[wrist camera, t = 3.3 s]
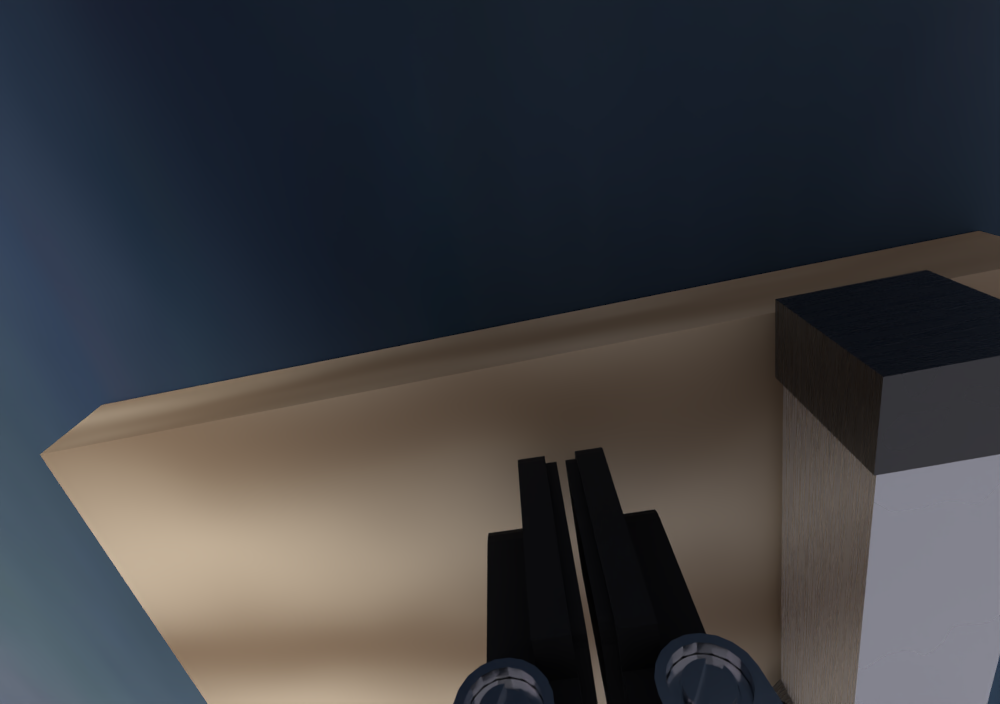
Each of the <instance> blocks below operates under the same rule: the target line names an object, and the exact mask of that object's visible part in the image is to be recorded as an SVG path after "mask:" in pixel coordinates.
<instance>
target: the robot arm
mask: <svg viewBox="0 0 1000 704" xmlns="http://www.w3.org/2000/svg"><path fill="white" fill-rule="evenodd" d="M565 463H566V470H567V477H568V484H569V491H570V497H571V504H572V511H573V517H574V524H575V531H576V538H577V544H578V551H579V558H580V564H581V570H582V576H583V581H584V587H585V592H586V597H587V602H588V608H589V613H590V618H591V624H592V629H593V634H594V639H595V645H596V650H597V655H598V660H599V666H600V671H601V676H602V681H603V687H604V692H605V697H606V702H607V704H787V703H785V702H783V701H781V700H780V698H779V697H778V695H777V693H776V692H775V690H774V689H773V687H772V686H771V684H770V683H769V681H768V680H767V678H766V676H765V675H764V673H763V672H762V670H761V669H760V667H759V666H758V665H757V663H756V662H755V661H754V660H753V659H752V657H751V656H750V655H749V654H748V653H747V652H746V651H745V650H743V649H742V648H740V647H739V646H738V645H736V644H735V643H733V642H732V641H729V640H727V639H724V638H722V637H719V636H717V635H711V634H706V632H705V630H704V627H703V625H702V622H701V620H700V617H699V615H698V612H697V610H696V607H695V605H694V602H693V600H692V597H691V595H690V592H689V589H688V587H687V584H686V582H685V579H684V577H683V574H682V572H681V569H680V567H679V564H678V562H677V559H676V557H675V554H674V552H673V549H672V547H671V544H670V542H669V539H668V537H667V534H666V532H665V529H664V527H663V524H662V522H661V519H660V517H659V515H658V513H657V511H656V510H655V509H654V510H647V511H640V512H633V513H626V514H623V511H622V508H621V505H620V502H619V498H618V495H617V492H616V489H615V486H614V483H613V479H612V476H611V473H610V470H609V467H608V464H607V460H606V457H605V454H604V451H603V448H602V447H599V448H593V449H586V450H579V451H575V459H570V460H565ZM518 473H519V487H520V501H521V515H522V528H521V529H514V530H507V531H500V532H493V533H489V534H488V542H487V663H485V664H483V665H481V666H479V667H478V668H477V669H476V670H474V671H473V672H472V673H471V674H470V675H468V676H467V678H466V679H465V681H464V682H463V683H462V685H461V686H460V688H459V689H458V692H457V695H456V697H455V700H454V703H453V704H598V702H597V695H596V689H595V682H594V676H593V669H592V662H591V656H590V649H589V643H588V637H587V631H586V625H585V619H584V613H583V607H582V602H581V596H580V591H579V585H578V579H577V574H576V568H575V563H574V557H573V551H572V546H571V540H570V535H569V529H568V523H567V518H566V512H565V507H564V501H563V495H562V490H561V484H560V479H559V473H558V467H557V462H550V463H546V461H545V456H540V457H533V458H526V459H520V460H518Z"/></svg>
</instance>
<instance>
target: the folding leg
mask: <svg viewBox="0 0 1000 704" xmlns="http://www.w3.org/2000/svg"><path fill="white" fill-rule="evenodd" d="M775 378H776V379H777V380H778V381H779V382H780V383H781V384H782V385H783V453H782V579H781V679H780V680H779V681H777V683H776V684H775V685H774V686H773V689H774V690H775V692H776V693H777V695H778V697H779V698H780V700H781V701H783V702H785V703H787V704H987V703H988V699H989V695H990V691H991V687H992V683H993V679H994V675H995V671H996V667H997V663H998V659H999V655H1000V299H998V298H996V297H993V296H991V295H988V294H986V293H983V292H981V291H978V290H976V289H973V288H971V287H968V286H966V285H963V284H961V283H958V282H956V281H953V280H951V279H949V278H946V277H944V276H941V275H939V274H936V273H934V272H931V271H929V270H922V271H917V272H912V273H907V274H902V275H897V276H892V277H887V278H881V279H876V280H871V281H866V282H861V283H856V284H851V285H846V286H840V287H835V288H830V289H825V290H820V291H815V292H810V293H805V294H799V295H794V296H789V297H784V298H779V299H775Z"/></svg>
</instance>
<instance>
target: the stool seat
mask: <svg viewBox="0 0 1000 704" xmlns="http://www.w3.org/2000/svg"><path fill="white" fill-rule="evenodd" d="M922 270H929V271H931V272H934V273H936V274H939V275H941V276H944V277H946V278H949V279H951V280H953V281H956V282H958V283H961V284H963V285H966V286H968V287H971V288H973V289H976V290H978V291H981V292H983V293H986V294H988V295H991V296H993V297H996V298H998V299H1000V236H996V235H993V234H989V233H986V232H982V231H975V232H970V233H965V234H960V235H955V236H950V237H945V238H940V239H935V240H930V241H925V242H920V243H915V244H910V245H905V246H900V247H895V248H890V249H885V250H880V251H875V252H870V253H865V254H860V255H855V256H850V257H845V258H840V259H834V260H829V261H824V262H819V263H814V264H809V265H804V266H799V267H794V268H789V269H784V270H779V271H774V272H769V273H764V274H759V275H754V276H749V277H744V278H739V279H734V280H729V281H724V282H719V283H714V284H709V285H704V286H699V287H694V288H689V289H684V290H678V291H673V292H668V293H663V294H658V295H653V296H648V297H643V298H638V299H633V300H628V301H623V302H618V303H613V304H608V305H603V306H598V307H593V308H588V309H583V310H578V311H573V312H568V313H563V314H558V315H553V316H548V317H543V318H538V319H533V320H528V321H522V322H517V323H512V324H507V325H502V326H497V327H492V328H487V329H482V330H477V331H472V332H467V333H462V334H457V335H452V336H447V337H442V338H437V339H432V340H427V341H422V342H417V343H412V344H407V345H402V346H397V347H392V348H387V349H382V350H377V351H372V352H366V353H361V354H356V355H351V356H346V357H341V358H336V359H331V360H326V361H321V362H316V363H311V364H306V365H301V366H296V367H291V368H286V369H281V370H276V371H271V372H266V373H261V374H256V375H251V376H246V377H241V378H236V379H231V380H226V381H221V382H216V383H210V384H205V385H200V386H195V387H190V388H185V389H180V390H175V391H170V392H165V393H160V394H155V395H150V396H145V397H140V398H135V399H130V400H125V401H120V402H115V403H110V404H105V405H101V406H100V407H99V408H98V409H96V410H95V411H94V412H93V413H91V414H90V415H89V416H88V417H86V418H85V419H84V420H83V421H81V422H80V423H79V424H78V425H76V426H75V427H74V428H73V429H71V430H70V431H69V432H68V433H66V434H65V435H64V436H63V437H61V438H60V439H59V440H58V441H56V442H55V443H54V444H53V445H51V446H50V447H49V448H48V449H46V450H45V451H44V452H43V453H41V454H40V455H41V457H42V458H43V460H44V461H45V463H46V464H47V466H48V467H49V469H50V470H51V472H52V473H53V475H54V476H55V478H56V479H57V481H58V482H59V484H60V485H61V487H62V488H63V490H64V491H65V492H66V494H67V495H68V497H69V498H70V500H71V501H72V503H73V504H74V506H75V507H76V509H77V510H78V512H79V513H80V515H81V516H82V518H83V519H84V521H85V522H86V524H87V525H88V527H89V528H90V530H91V531H92V533H93V534H94V536H95V537H96V538H97V540H98V541H99V543H100V544H101V546H102V547H103V549H104V550H105V552H106V553H107V555H108V556H109V558H110V559H111V561H112V562H113V564H114V565H115V567H116V568H117V570H118V571H119V573H120V574H121V576H122V577H123V579H124V580H125V582H126V583H127V585H128V586H129V587H130V589H131V590H132V592H133V593H134V595H135V596H136V598H137V599H138V601H139V602H140V604H141V605H142V607H143V608H144V610H145V611H146V613H147V614H148V616H149V617H150V619H151V620H152V622H153V623H154V625H155V626H156V628H157V629H158V631H159V632H160V633H161V635H162V636H163V638H164V639H165V641H166V642H167V644H168V645H169V647H170V648H171V650H172V651H173V653H174V654H175V656H176V657H177V659H178V660H179V662H180V663H181V665H182V666H183V668H184V669H185V671H186V672H187V674H188V675H189V677H190V678H191V679H192V681H193V682H194V684H195V685H196V687H197V688H198V690H199V691H200V693H201V694H202V696H203V697H204V699H205V700H206V702H207V703H208V704H453V703H454V700H455V697H456V695H457V692H458V689H459V688H460V686H461V685H462V683H463V682H464V681H465V679H466V678H467V676H468V675H470V674H471V673H472V672H473V671H474V670H476V669H477V668H478V667H479V666H481V665H483V664H485V663H487V542H488V534H489V533H493V532H500V531H507V530H514V529H521V528H522V515H521V501H520V487H519V473H518V460H520V459H526V458H533V457H540V456H545V461H546V463H550V462H557V467H558V473H559V479H560V484H561V490H562V495H563V501H564V507H565V512H566V518H567V523H568V529H569V535H570V540H571V546H572V551H573V557H574V563H575V568H576V574H577V579H578V585H579V591H580V596H581V602H582V607H583V613H584V619H585V625H586V631H587V637H588V643H589V649H590V656H591V662H592V669H593V676H594V682H595V689H596V695H597V702H598V704H607V702H606V697H605V692H604V687H603V681H602V676H601V671H600V666H599V660H598V655H597V650H596V645H595V639H594V634H593V629H592V624H591V618H590V613H589V608H588V602H587V597H586V592H585V587H584V581H583V576H582V570H581V564H580V558H579V551H578V544H577V538H576V531H575V524H574V517H573V511H572V504H571V497H570V491H569V484H568V477H567V470H566V463H565V460H570V459H575V451H579V450H586V449H593V448H599V447H602V448H603V451H604V454H605V457H606V460H607V464H608V467H609V470H610V473H611V476H612V479H613V483H614V486H615V489H616V492H617V495H618V498H619V502H620V505H621V508H622V511H623V514H626V513H633V512H640V511H647V510H654V509H655V510H656V511H657V513H658V515H659V517H660V519H661V522H662V524H663V527H664V529H665V532H666V534H667V537H668V539H669V542H670V544H671V547H672V549H673V552H674V554H675V557H676V559H677V562H678V564H679V567H680V569H681V572H682V574H683V577H684V579H685V582H686V584H687V587H688V589H689V592H690V595H691V597H692V600H693V602H694V605H695V607H696V610H697V612H698V615H699V617H700V620H701V622H702V625H703V627H704V630H705V632H706V634H711V635H717V636H719V637H722V638H724V639H727V640H729V641H732V642H733V643H735V644H736V645H738V646H739V647H740V648H742V649H743V650H745V651H746V652H747V653H748V654H749V655H750V656H751V657H752V659H753V660H754V661H755V662H756V663H757V665H758V666H759V667H760V669H761V670H762V672H763V673H764V675H765V676H766V678H767V680H768V681H769V683H770V684H771V686H772V687H773V686H774V685H775V684H776V683H777V681H779V680H780V679H781V579H782V453H783V385H782V384H781V383H780V382H779V381H778V380H777V379H776V378H775V299H779V298H784V297H789V296H794V295H799V294H805V293H810V292H815V291H820V290H825V289H830V288H835V287H840V286H846V285H851V284H856V283H861V282H866V281H871V280H876V279H881V278H887V277H892V276H897V275H902V274H907V273H912V272H917V271H922Z"/></svg>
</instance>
